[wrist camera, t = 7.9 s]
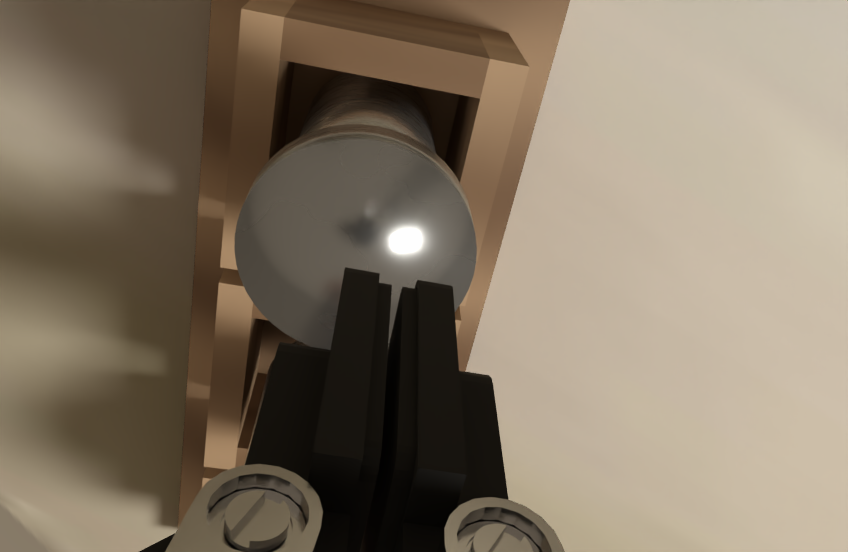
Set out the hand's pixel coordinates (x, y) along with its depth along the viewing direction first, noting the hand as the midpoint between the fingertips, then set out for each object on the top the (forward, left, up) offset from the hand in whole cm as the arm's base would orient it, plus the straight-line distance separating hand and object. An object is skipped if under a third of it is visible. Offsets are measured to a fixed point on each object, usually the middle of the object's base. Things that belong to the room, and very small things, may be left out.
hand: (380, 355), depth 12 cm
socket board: (+8, 0, -14) cm, 16 cm away
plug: (+1, 0, -12) cm, 12 cm away
